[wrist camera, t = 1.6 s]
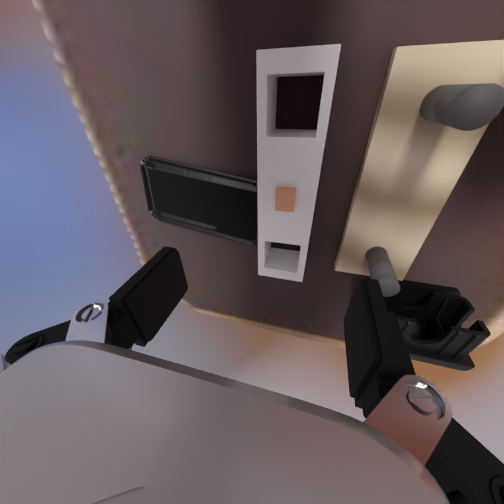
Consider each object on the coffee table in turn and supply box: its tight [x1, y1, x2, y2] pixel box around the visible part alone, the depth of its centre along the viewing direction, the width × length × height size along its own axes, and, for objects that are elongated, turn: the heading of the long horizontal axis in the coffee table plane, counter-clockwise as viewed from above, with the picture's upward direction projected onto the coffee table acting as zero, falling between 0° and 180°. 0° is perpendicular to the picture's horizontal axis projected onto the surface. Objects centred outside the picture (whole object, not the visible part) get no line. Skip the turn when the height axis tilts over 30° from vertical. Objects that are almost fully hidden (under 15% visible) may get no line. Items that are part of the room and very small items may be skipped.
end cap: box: [370, 277, 490, 371], centre depth 24 cm, size 10×7×7 cm
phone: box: [140, 156, 258, 245], centre depth 26 cm, size 8×1×15 cm
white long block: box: [256, 44, 341, 282], centre depth 20 cm, size 19×5×4 cm, turn 1°
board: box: [335, 40, 504, 297], centre depth 17 cm, size 19×7×6 cm, turn 1°
